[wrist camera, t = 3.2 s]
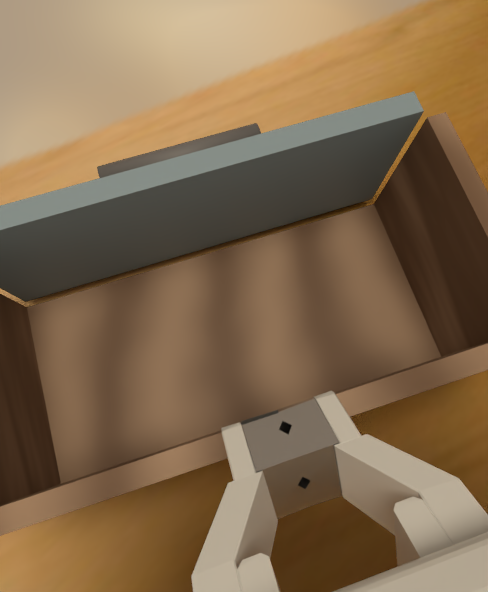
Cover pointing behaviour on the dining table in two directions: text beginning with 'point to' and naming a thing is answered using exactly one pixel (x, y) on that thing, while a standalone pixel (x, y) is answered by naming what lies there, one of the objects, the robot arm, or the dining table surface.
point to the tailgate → (199, 196)
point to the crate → (245, 338)
